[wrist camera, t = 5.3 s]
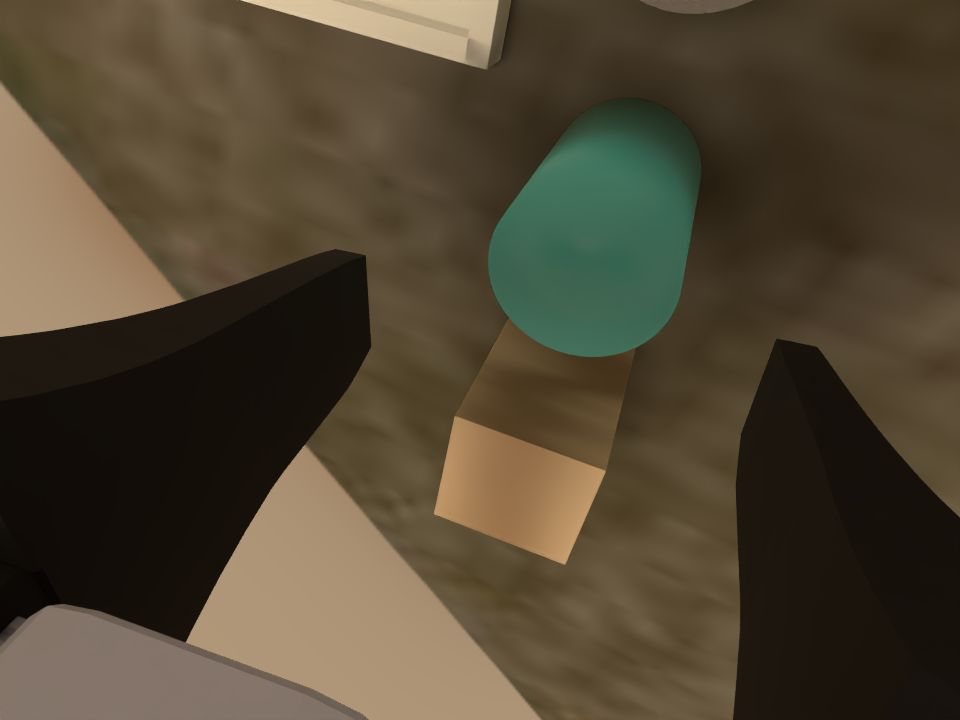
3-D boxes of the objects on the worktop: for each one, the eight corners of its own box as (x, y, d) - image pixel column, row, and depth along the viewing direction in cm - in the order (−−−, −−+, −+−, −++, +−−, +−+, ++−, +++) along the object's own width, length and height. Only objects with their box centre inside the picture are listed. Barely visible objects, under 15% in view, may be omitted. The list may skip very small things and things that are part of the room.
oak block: (637, 340, 21) (605, 471, 17) (601, 430, 24) (564, 564, 19) (518, 300, 22) (454, 415, 17) (494, 391, 24) (434, 513, 20)
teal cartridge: (726, 122, 17) (715, 216, 12) (670, 259, 19) (644, 380, 15) (573, 79, 18) (508, 154, 13) (538, 218, 20) (473, 322, 15)
